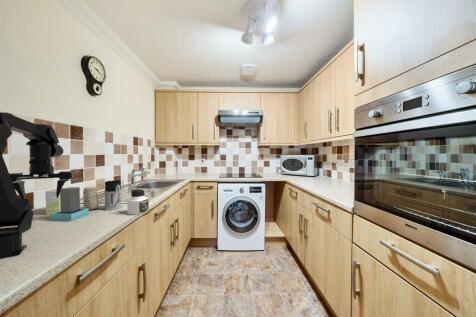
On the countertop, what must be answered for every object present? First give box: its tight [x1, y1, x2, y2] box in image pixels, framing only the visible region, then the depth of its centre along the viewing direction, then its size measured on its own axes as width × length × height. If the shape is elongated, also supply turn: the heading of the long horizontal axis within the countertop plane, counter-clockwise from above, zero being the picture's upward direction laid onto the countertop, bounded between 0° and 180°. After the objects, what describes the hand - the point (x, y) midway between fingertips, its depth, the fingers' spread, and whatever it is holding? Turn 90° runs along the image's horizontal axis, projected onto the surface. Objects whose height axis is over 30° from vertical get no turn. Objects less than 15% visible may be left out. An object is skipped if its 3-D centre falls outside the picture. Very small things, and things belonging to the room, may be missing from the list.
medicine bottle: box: [126, 188, 150, 216], centre depth 102 cm, size 7×7×12 cm
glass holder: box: [103, 179, 123, 211], centre depth 109 cm, size 9×14×15 cm, turn 49°
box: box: [45, 187, 64, 216], centre depth 104 cm, size 10×6×12 cm, turn 17°
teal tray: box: [50, 208, 89, 222], centre depth 94 cm, size 10×10×3 cm
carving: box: [82, 186, 99, 211], centre depth 108 cm, size 6×8×12 cm
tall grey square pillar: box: [60, 186, 81, 214], centre depth 94 cm, size 5×5×13 cm
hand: (41, 199), depth 76 cm, fingers open, 9 cm apart
